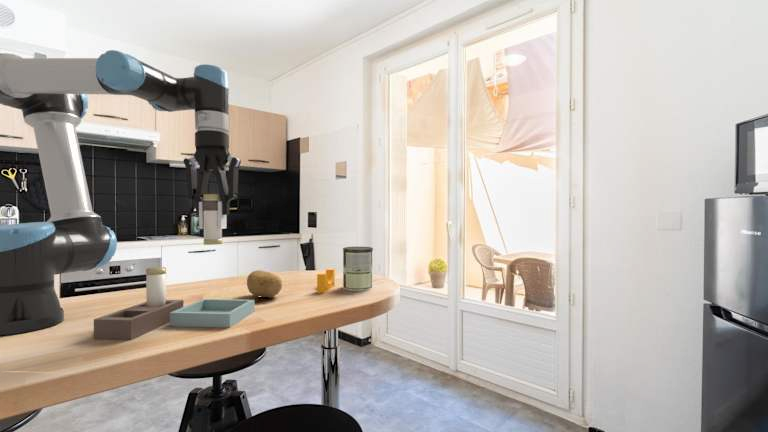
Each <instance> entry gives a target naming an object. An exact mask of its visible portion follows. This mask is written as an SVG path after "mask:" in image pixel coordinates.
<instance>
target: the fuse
mask: <svg viewBox="0 0 768 432" xmlns="http://www.w3.org/2000/svg"><path fill="white" fill-rule="evenodd" d="M145 275H146V276H145V278H146V279H145V280H146V284H145V288H146V289H145V290H146V291H145V292H146V294H145V295H146V296H145V297H146V300H145V302H146V307H161V306H164V305H166V300H167V299H166V298H167V291H166V290H167V277H166V276H167V267H162V266H161V267H160V266H159V267H157V266H156V267H149V268H146V269H145Z"/></svg>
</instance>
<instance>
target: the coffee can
mask: <svg viewBox="0 0 768 432" xmlns="http://www.w3.org/2000/svg"><path fill="white" fill-rule="evenodd" d="M373 250H374V249H373V247H371V246H346V247H342V251H343V252H342V253H343V254H342V255H343V258H342V260H343V261H342V262H343V263H342V265H343V266H342V267H343V268H342V270H343V271H342V273H343V276H342V281H343V282H342V288H343V290H346V291H354V292H355V291H356V292H358V291H359V292H361V291H362V292H363V291H369V290H372V289H373Z"/></svg>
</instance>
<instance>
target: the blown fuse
mask: <svg viewBox="0 0 768 432" xmlns="http://www.w3.org/2000/svg"><path fill="white" fill-rule="evenodd" d="M219 199H221V197H220V193H218V194H217V193H206V194H203V211H204V229H203V245H208V246H209V245H211V246H212V245H214V246H215V245H222V244H223V229H218V202H222V201H220V200H219Z"/></svg>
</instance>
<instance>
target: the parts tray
mask: <svg viewBox="0 0 768 432" xmlns="http://www.w3.org/2000/svg"><path fill="white" fill-rule="evenodd" d="M255 303H256V302H255V299H235V298H234V299H233V298H232V299H231V298H230V299H229V298H228V299H226V298H223V299H222V298H220V299H219V298H202V299H200V300H197V301H195V302H192V303H190V304H188V305H185V306H183V307H182V308H180V309H178V310H175V311H173V312H170V322H169V327H187V328H190V327H191V328H192V327H193V328H221V329H222V328H223V329H224V328H225V329H229V328H231V327H233V326H235V325H236V324H238V323H239V322H241V321H243V320H244V319H246V318H247V317H248V316H250V315H252V314H253V313H255V312H256V311H255V310H256V309H255V308H256V307H255V305H256V304H255Z"/></svg>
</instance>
